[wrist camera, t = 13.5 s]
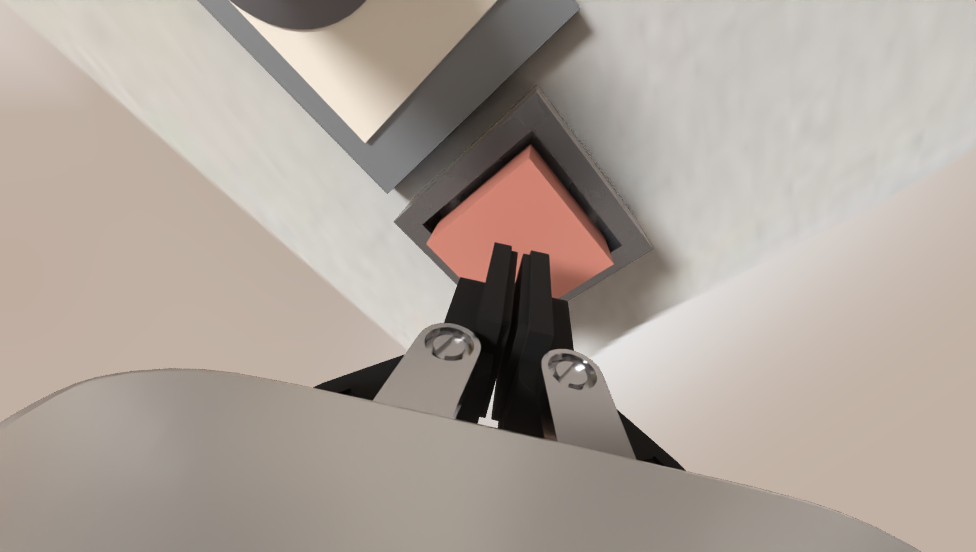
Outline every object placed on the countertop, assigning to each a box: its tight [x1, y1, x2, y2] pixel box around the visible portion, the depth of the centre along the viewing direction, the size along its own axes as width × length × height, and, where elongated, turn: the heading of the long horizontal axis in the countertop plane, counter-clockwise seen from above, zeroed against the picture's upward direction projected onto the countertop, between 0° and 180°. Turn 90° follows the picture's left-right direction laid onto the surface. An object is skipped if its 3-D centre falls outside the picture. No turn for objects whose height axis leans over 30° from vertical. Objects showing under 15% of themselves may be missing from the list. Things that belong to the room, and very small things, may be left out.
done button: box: [426, 144, 614, 299], centre depth 14 cm, size 5×5×2 cm
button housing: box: [394, 85, 653, 301], centre depth 16 cm, size 7×7×3 cm
